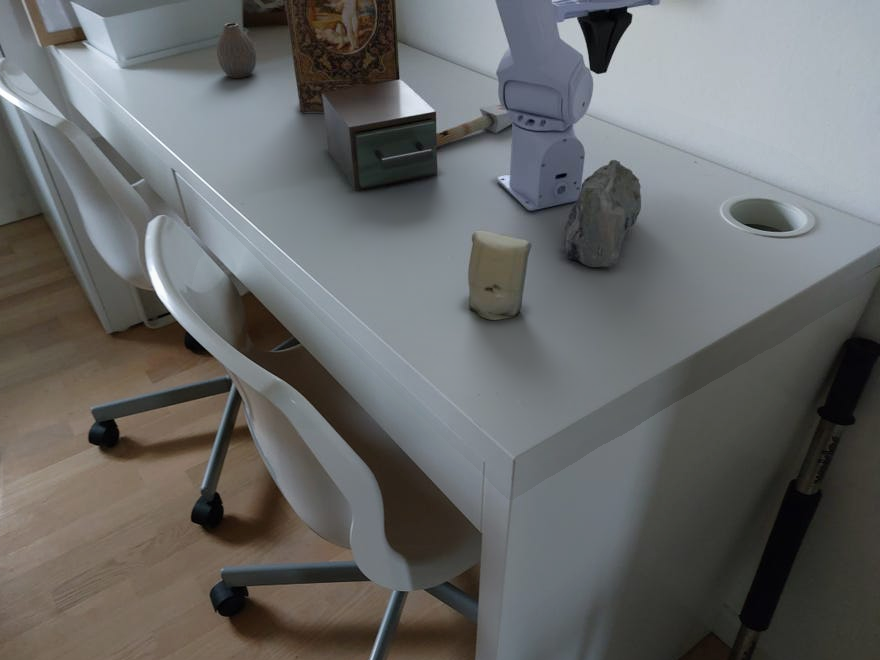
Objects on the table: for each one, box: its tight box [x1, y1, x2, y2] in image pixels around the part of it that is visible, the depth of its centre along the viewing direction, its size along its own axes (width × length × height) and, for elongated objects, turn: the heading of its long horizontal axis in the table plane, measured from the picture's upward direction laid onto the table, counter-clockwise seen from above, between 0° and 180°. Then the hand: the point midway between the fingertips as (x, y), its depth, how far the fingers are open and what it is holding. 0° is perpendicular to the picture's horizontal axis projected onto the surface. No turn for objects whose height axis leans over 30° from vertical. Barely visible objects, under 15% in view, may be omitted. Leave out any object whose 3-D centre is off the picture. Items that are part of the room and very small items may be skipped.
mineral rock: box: [564, 159, 642, 268], centre depth 78 cm, size 13×11×10 cm
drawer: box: [354, 119, 436, 187], centre depth 94 cm, size 17×10×7 cm, turn 19°
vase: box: [216, 22, 257, 79], centre depth 130 cm, size 7×7×9 cm
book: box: [284, 0, 401, 114], centre depth 109 cm, size 16×6×25 cm, turn 84°
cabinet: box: [322, 78, 438, 192], centre depth 97 cm, size 14×12×9 cm
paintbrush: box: [436, 104, 513, 148], centre depth 106 cm, size 4×3×20 cm
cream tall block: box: [467, 230, 532, 321], centre depth 69 cm, size 6×5×8 cm
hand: (598, 71), depth 94 cm, fingers closed
